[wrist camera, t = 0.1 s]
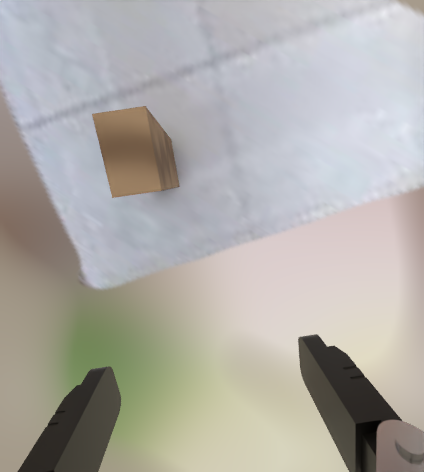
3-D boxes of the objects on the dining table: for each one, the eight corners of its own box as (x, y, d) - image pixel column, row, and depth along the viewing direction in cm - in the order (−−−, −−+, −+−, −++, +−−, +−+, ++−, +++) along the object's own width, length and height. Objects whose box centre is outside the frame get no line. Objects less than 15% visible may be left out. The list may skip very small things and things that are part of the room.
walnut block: (141, 144, 35) (92, 114, 19) (171, 139, 35) (145, 106, 19) (151, 190, 36) (112, 197, 21) (179, 186, 36) (161, 190, 21)
